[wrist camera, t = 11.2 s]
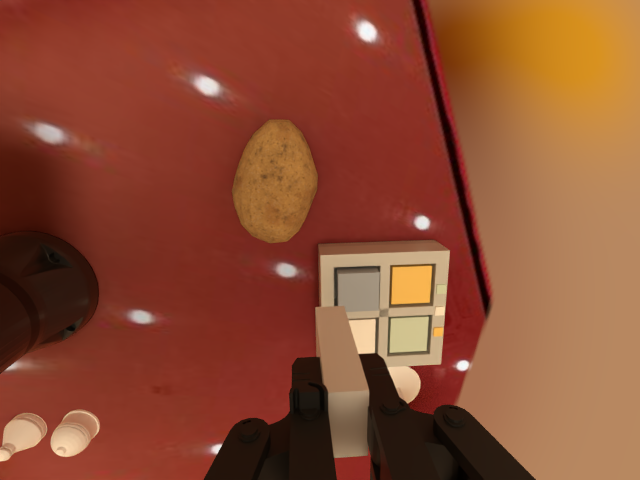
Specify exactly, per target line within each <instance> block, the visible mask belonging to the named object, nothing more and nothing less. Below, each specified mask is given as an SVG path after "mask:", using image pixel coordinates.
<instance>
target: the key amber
mask: <svg viewBox="0 0 640 480" xmlns="http://www.w3.org/2000/svg"><path fill="white" fill-rule="evenodd" d="M431 276H432V265H431V264H407V265H390V287H389V301H390V303H391V304H410V303H430V291H431Z"/></svg>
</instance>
